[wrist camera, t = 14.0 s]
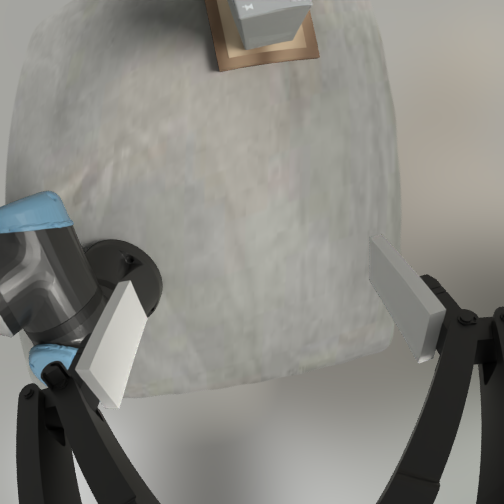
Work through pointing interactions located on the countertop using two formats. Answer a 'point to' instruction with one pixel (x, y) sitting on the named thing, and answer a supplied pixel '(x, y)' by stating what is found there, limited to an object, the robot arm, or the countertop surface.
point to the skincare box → (268, 20)
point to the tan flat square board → (236, 56)
